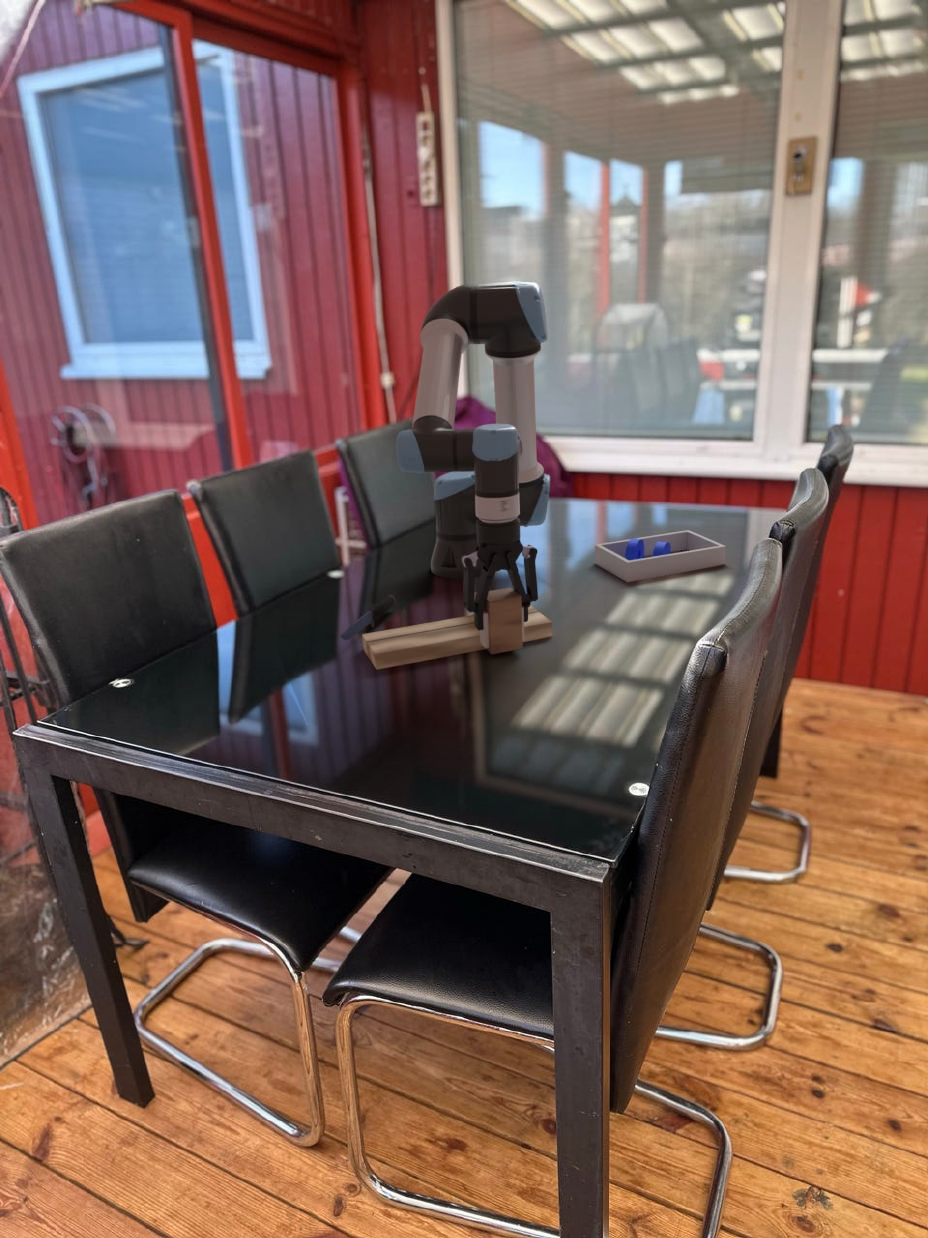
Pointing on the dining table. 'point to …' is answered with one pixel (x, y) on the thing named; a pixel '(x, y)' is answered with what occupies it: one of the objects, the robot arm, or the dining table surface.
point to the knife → (369, 617)
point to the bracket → (637, 549)
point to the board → (438, 639)
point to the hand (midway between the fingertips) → (502, 641)
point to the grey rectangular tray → (697, 557)
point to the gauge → (504, 620)
